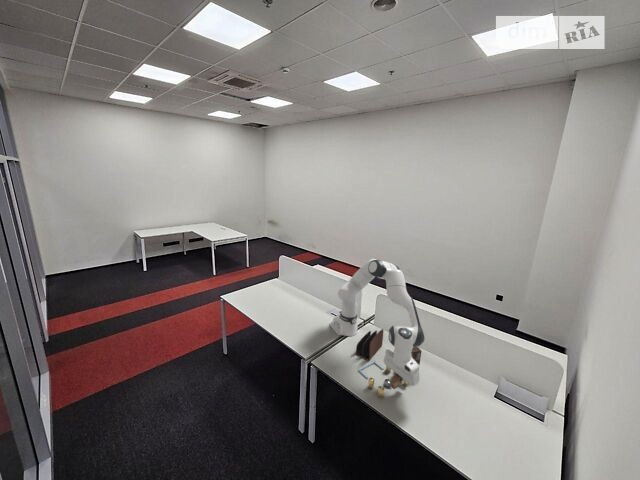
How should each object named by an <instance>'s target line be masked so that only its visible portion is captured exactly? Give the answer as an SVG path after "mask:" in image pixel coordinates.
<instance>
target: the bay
mask: <svg viewBox="0 0 640 480" xmlns="http://www.w3.org/2000/svg"><path fill="white" fill-rule="evenodd" d="M374 364H375V365H376V366H377V367H379V368H380V369H381V370H384V367H383V366H382V365H380V364H379V363H378V362H376V360H374V361H371V362H369V363H368V364H366V365H364V366H363V367H361V368H359V369H358V370H357V371H358V372H359V373H360V374H361V375H362V376H363V378H364V377H365V379H367V380H369V376H367V375H366V373H364V372H363V370H365V369H366V368H369V367H370V366H372V365H374Z"/></svg>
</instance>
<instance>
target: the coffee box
mask: <svg viewBox="0 0 640 480" xmlns="http://www.w3.org/2000/svg"><path fill="white" fill-rule="evenodd" d="M411 356H412V358H413V359H414V360H415V361H416V362H417V364H418V365H419V366H420V365H421V357H422V350H421V349H420V347H419V346H413V348H412V351H411ZM418 371H419V372H420V368H419V369H418Z"/></svg>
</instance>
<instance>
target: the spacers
mask: <svg viewBox="0 0 640 480" xmlns="http://www.w3.org/2000/svg"><path fill="white" fill-rule="evenodd" d="M385 372H386V373H387V374H388V373H390V374H391V372H392V369H390V368H389V367H388V366H386V365H385ZM374 385H375V379H374V378H373V377H368V383H367V388H368V389H369V390H374V388H375V387H374ZM402 385H403V386H405V387H407V386H408V385H409V382H407V381H406V382H404V383H403V384H402ZM384 392H385V387H383V386H382V385H379V386H378V389H377V398H378V399H380V400H381V399H383V398H384Z"/></svg>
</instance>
